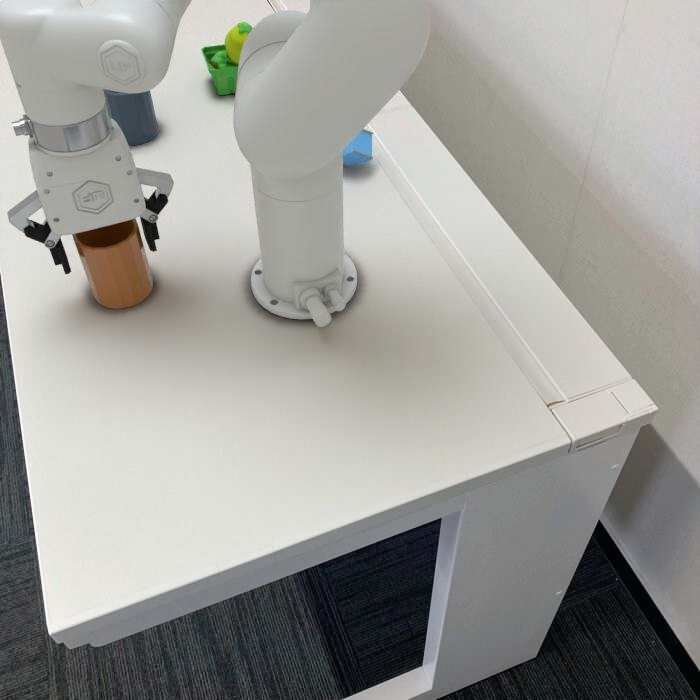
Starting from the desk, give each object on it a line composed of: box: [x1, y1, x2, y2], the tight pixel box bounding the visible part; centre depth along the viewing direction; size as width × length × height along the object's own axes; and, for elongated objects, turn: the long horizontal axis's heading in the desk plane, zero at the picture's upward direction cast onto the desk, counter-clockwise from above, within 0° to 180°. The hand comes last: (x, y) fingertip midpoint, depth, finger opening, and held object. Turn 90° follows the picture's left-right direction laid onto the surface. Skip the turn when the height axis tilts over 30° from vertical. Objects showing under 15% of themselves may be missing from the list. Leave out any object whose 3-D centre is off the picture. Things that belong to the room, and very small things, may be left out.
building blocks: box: [343, 128, 374, 167], centre depth 107 cm, size 8×8×12 cm
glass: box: [71, 218, 154, 310], centre depth 88 cm, size 7×7×9 cm
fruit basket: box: [200, 21, 254, 96], centre depth 118 cm, size 11×9×11 cm
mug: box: [103, 89, 159, 146], centre depth 111 cm, size 10×7×8 cm
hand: (109, 255), depth 88 cm, fingers open, 9 cm apart
